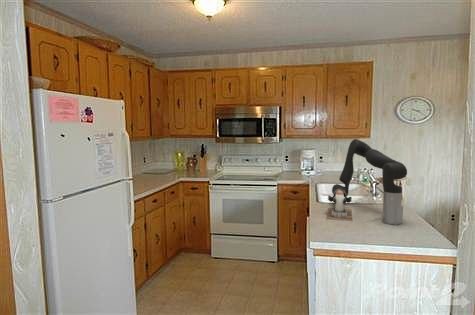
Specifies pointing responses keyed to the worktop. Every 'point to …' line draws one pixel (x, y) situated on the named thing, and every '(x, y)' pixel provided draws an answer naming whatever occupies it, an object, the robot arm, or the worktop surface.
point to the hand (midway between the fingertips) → (339, 201)
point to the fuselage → (339, 201)
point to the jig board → (348, 218)
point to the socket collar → (339, 214)
